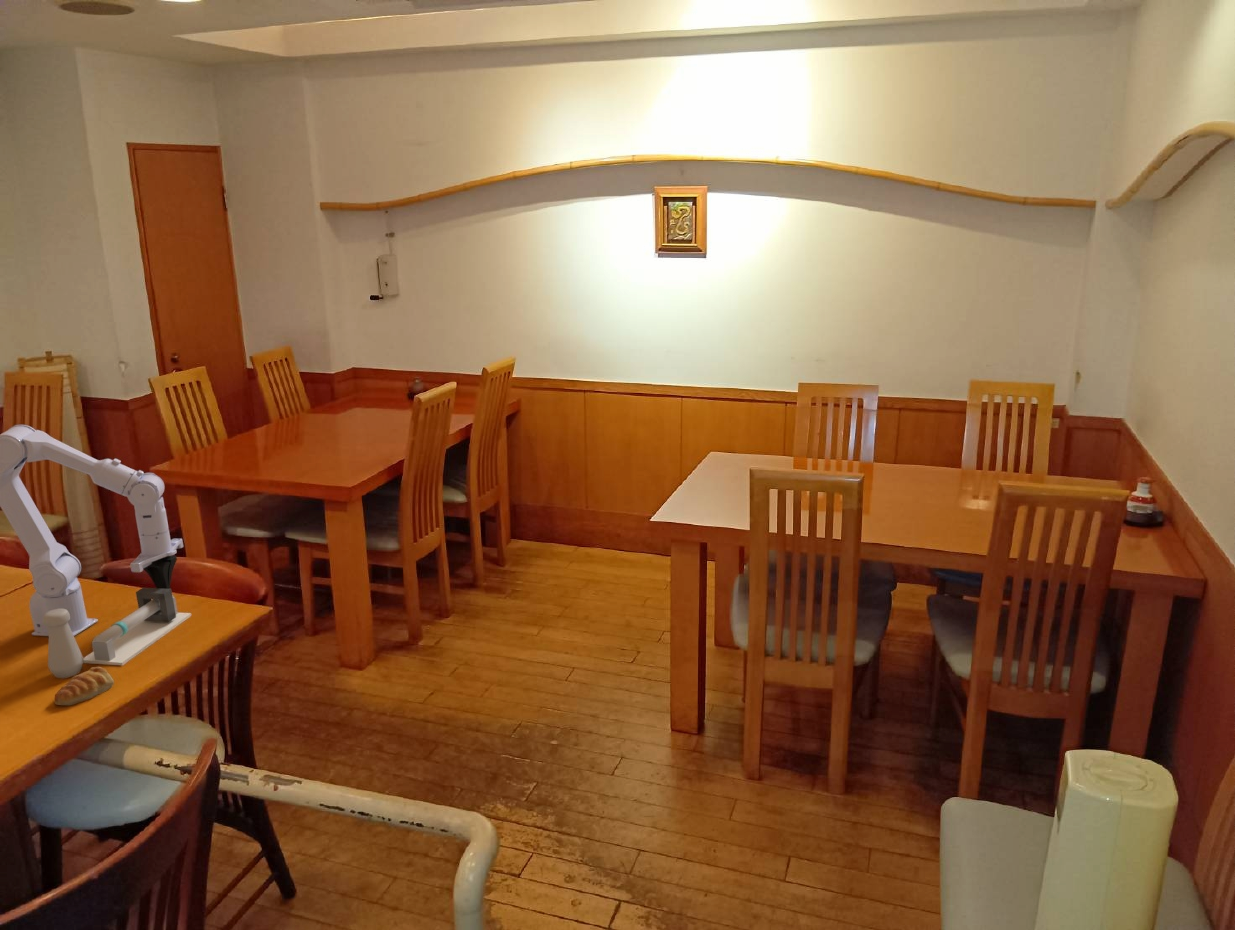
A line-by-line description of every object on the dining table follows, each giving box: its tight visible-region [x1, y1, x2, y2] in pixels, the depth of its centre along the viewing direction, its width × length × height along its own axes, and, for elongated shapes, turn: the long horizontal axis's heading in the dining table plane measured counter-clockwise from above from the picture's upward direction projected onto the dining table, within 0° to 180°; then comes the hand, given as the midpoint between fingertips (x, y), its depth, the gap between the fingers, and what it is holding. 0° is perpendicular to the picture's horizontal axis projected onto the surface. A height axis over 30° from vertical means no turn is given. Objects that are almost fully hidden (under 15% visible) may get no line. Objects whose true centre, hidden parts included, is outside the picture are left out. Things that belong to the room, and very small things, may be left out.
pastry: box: [54, 666, 114, 706], centre depth 159 cm, size 9×7×4 cm
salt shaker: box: [43, 609, 84, 680], centre depth 165 cm, size 6×6×13 cm
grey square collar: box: [135, 587, 176, 622], centre depth 186 cm, size 2×7×7 cm, turn 82°
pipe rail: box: [83, 594, 192, 666], centre depth 180 cm, size 22×9×6 cm, turn 172°
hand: (163, 590), depth 188 cm, fingers closed
